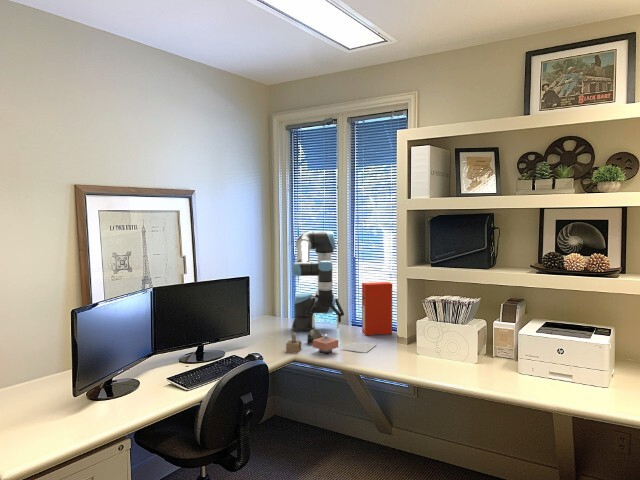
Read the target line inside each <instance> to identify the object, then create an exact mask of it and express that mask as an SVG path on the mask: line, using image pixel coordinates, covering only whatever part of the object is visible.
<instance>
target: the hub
mask: <svg viewBox="0 0 640 480" xmlns="http://www.w3.org/2000/svg"><path fill="white" fill-rule="evenodd" d="M323 336H324V338H323V341H325V342H326V341H329V338H330V337H329V338H328V334H327V333H324V334H323ZM318 352H319V354H320V355H330V354H333V349H331V350H327V351H324V350H321V349H318Z"/></svg>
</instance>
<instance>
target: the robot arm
mask: <svg viewBox="0 0 640 480" xmlns="http://www.w3.org/2000/svg"><path fill="white" fill-rule="evenodd" d="M295 248H296V262H293V263H292V271H291V272H292V275H293V276H296V277H302V276H303V277H307V276H309V277H314V276H315V277H317V290H316V292H315V294H314V295H313V293H312V292H304V293H299V294H297V295H295V297H294V302H293V304H294V318H293V321H292V325H291V330H292V331H293V332H296V333H297V332H299V333H310V331H311V330H312V329H316V324H315V323H316V322H315V321H316V320H315V317H316V316H315V314H326V315H327V314H333V313H335V314H336V330H338V329H339V328H340V323H341V322H342V316H343V317H344V315H345V313H344V311H343V308H342V306H341V303H340V302H339V298H338V297H336V295H334V292H333V268H334V267H333V262H332V254H333V253H334V250H336V239H335V233H334V232H333V231H331V230H311V231H310V230H308V231H305V232H304V233H302V234H301V235H300V236H299V237H298V238H297V239H296V242H295ZM310 250H314V251H315V254H316V255H317V262H311V261H310ZM336 307H337V308H336Z"/></svg>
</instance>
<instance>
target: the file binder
mask: <svg viewBox="0 0 640 480" xmlns="http://www.w3.org/2000/svg"><path fill="white" fill-rule="evenodd" d="M361 333H362V334H363V333H364V334H365V335H367V336H374V335H373V334H384V335H392V334H393V283H392V282H388V281H385V282H384V281H382V282H362V283H361ZM391 333H392V334H391ZM364 334H363V335H364ZM365 335H364V336H365Z"/></svg>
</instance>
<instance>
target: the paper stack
mask: <svg viewBox="0 0 640 480" xmlns="http://www.w3.org/2000/svg"><path fill="white" fill-rule="evenodd" d="M375 346H377V344H373V343H364V342H357V341H353V342H352V343H350V344H349V345H347V346H345V347H344V348H343V349H342V350H344V351H349V352H358V353H366V354H367V352H369V351H370V350H372V349H373V348H374V347H375Z"/></svg>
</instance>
